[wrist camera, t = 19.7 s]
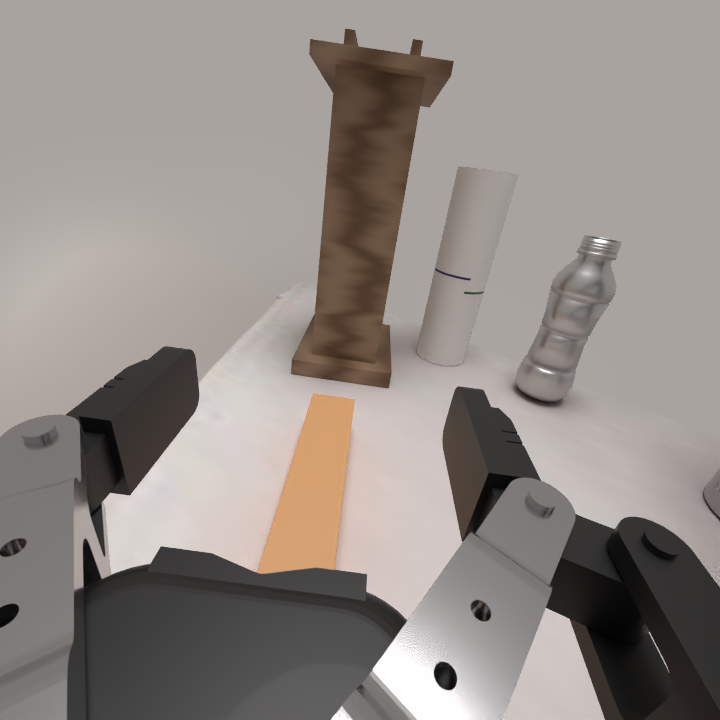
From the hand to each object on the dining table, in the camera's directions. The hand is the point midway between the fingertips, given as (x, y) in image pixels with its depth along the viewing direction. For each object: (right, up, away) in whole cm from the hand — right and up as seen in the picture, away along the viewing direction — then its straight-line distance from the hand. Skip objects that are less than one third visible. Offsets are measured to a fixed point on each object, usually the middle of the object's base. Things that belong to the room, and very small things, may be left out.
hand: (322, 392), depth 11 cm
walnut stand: (-1, +2, +41) cm, 41 cm away
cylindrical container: (+13, +2, +44) cm, 46 cm away
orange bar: (-2, -10, +17) cm, 20 cm away
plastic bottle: (+25, -4, +37) cm, 45 cm away
